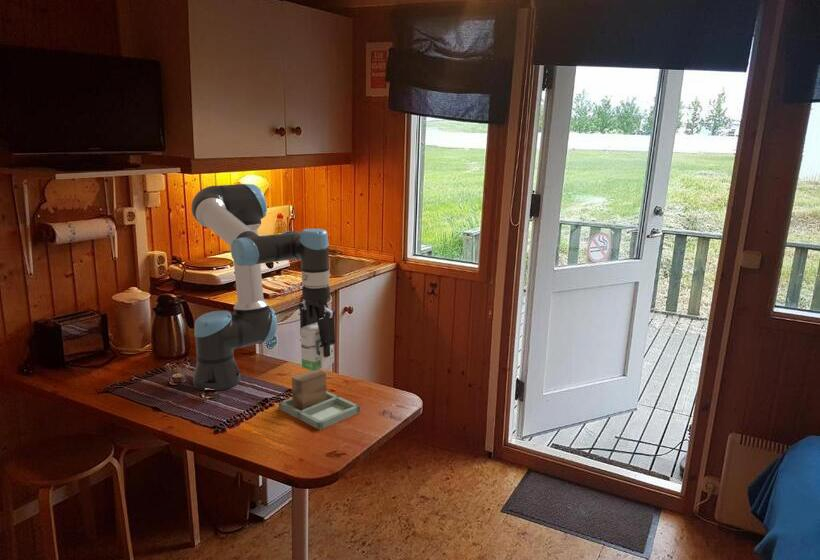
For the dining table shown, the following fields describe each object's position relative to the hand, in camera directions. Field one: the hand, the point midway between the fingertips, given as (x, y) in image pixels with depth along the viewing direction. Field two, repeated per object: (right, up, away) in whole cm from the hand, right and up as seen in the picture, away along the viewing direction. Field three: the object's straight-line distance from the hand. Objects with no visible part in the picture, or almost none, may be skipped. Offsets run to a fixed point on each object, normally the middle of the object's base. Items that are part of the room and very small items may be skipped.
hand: (318, 363), depth 172 cm
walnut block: (-4, -14, +11) cm, 18 cm away
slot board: (-1, -16, +8) cm, 18 cm away
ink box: (0, -1, 0) cm, 1 cm away
